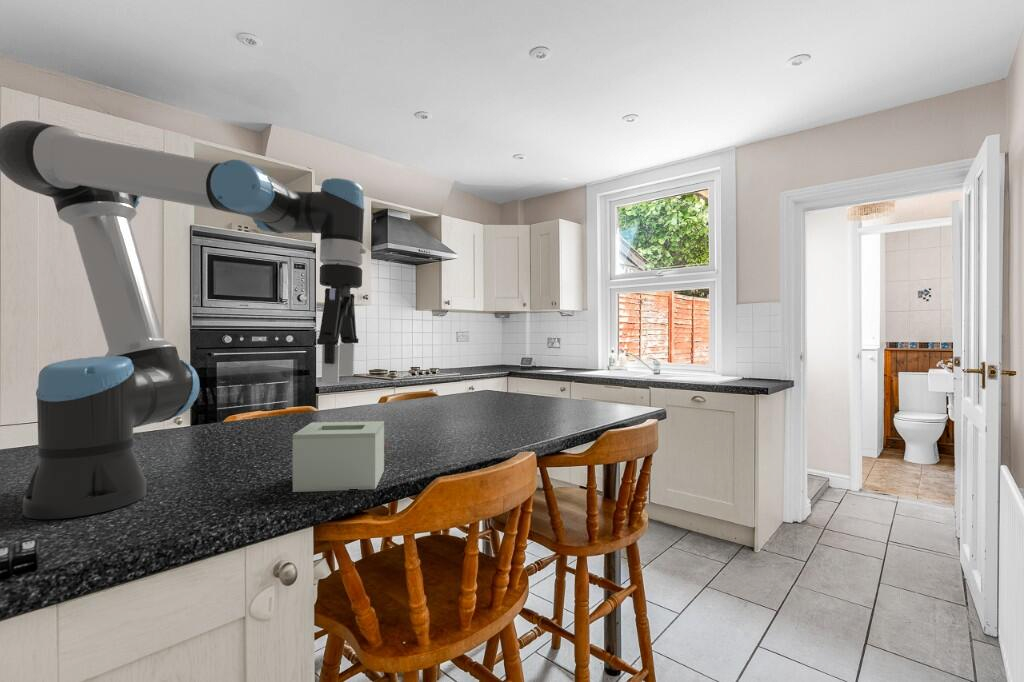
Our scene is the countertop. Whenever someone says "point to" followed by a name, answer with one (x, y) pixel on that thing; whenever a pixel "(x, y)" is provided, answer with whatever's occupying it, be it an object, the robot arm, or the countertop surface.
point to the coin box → (338, 456)
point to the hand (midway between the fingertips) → (338, 379)
